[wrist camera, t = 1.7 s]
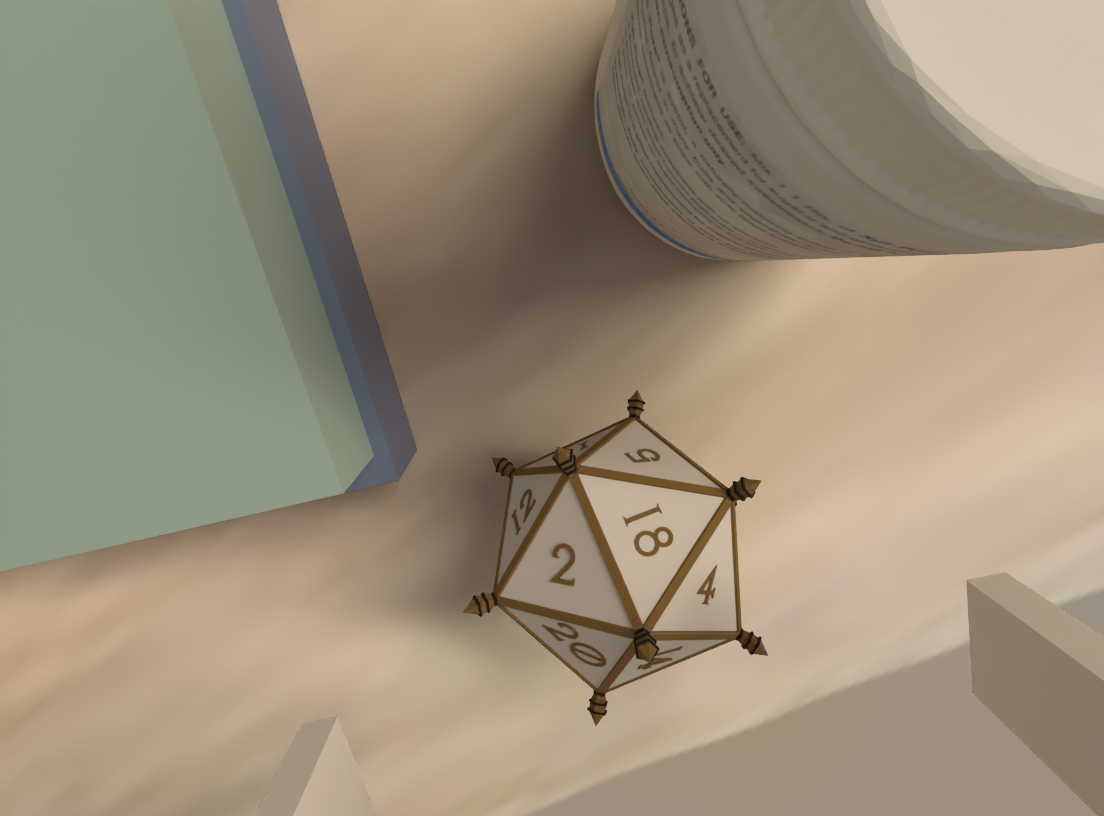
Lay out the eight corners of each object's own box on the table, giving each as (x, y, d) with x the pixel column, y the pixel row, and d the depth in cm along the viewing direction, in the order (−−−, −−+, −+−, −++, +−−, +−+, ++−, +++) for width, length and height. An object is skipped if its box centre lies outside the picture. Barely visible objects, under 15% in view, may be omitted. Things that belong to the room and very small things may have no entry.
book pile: (-321, -135, 16) (-800, -354, 10) (189, -277, 16) (-15, -590, 10) (34, 538, 22) (-147, 639, 16) (416, 450, 21) (372, 522, 16)
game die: (741, 533, 23) (894, 738, 13) (551, 615, 23) (561, 867, 14) (655, 333, 20) (762, 401, 11) (448, 431, 21) (374, 577, 12)
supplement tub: (837, 274, 20) (1562, 316, 6) (573, 244, 20) (671, 212, 5) (909, -42, 18) (2472, -1294, 3) (610, -85, 17) (971, -1763, 3)
